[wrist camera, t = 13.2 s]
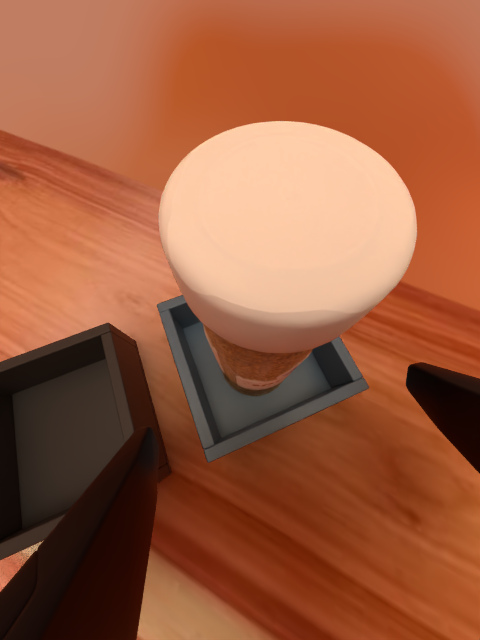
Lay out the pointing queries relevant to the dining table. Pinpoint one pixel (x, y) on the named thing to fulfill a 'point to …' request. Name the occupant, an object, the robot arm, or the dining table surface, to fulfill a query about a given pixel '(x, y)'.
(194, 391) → the tray
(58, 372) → the tray
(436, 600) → the dining table surface
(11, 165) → the dining table surface
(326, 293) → the sprinkles bottle
